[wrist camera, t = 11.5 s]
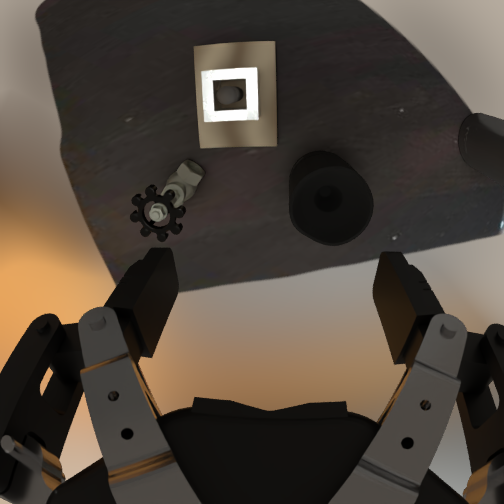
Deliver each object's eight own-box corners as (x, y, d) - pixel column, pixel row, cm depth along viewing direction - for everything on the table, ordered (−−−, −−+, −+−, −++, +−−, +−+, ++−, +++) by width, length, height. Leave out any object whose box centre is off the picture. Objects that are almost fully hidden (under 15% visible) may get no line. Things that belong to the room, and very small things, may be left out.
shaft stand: (274, 43, 30) (274, 28, 22) (277, 144, 37) (277, 161, 29) (196, 48, 31) (173, 37, 23) (202, 146, 38) (182, 163, 30)
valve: (156, 184, 41) (120, 219, 31) (179, 150, 38) (145, 175, 28) (191, 210, 43) (165, 252, 33) (217, 177, 40) (195, 211, 30)
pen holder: (344, 140, 36) (364, 157, 27) (358, 202, 40) (378, 234, 32) (277, 158, 38) (277, 180, 30) (297, 218, 43) (301, 254, 34)
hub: (259, 70, 31) (256, 67, 27) (260, 116, 34) (258, 119, 30) (211, 73, 31) (201, 71, 27) (213, 117, 34) (204, 122, 30)
